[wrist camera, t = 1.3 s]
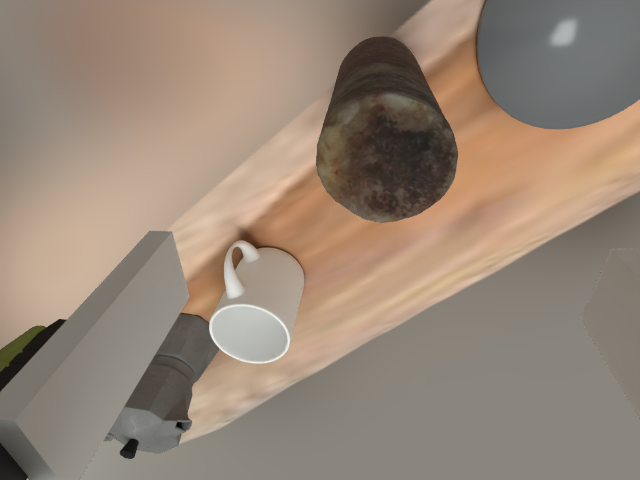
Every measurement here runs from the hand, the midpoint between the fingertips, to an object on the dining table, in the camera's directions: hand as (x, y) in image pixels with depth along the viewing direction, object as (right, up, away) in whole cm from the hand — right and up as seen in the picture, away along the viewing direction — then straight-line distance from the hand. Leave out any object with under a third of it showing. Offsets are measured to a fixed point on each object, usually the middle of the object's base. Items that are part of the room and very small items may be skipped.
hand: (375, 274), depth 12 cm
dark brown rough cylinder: (+4, +16, +24) cm, 29 cm away
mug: (-8, -2, +37) cm, 38 cm away
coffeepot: (-22, -13, +46) cm, 53 cm away
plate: (+19, +18, +20) cm, 33 cm away
